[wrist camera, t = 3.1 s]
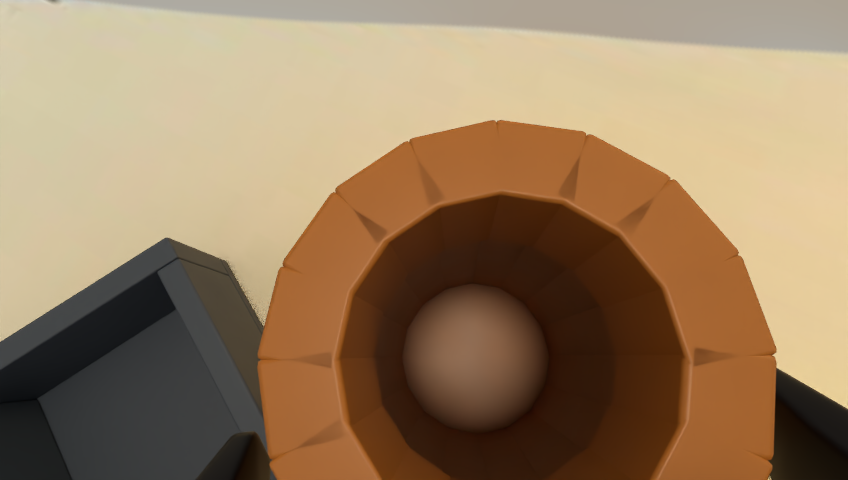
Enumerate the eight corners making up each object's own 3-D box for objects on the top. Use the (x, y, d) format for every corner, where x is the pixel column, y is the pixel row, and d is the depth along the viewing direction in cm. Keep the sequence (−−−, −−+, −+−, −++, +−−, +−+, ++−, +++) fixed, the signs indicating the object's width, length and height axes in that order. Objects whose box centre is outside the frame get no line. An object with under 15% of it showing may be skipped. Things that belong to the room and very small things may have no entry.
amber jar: (545, 458, 17) (771, 726, 5) (379, 423, 17) (196, 579, 5) (565, 291, 18) (787, 157, 6) (411, 264, 19) (321, 93, 6)
